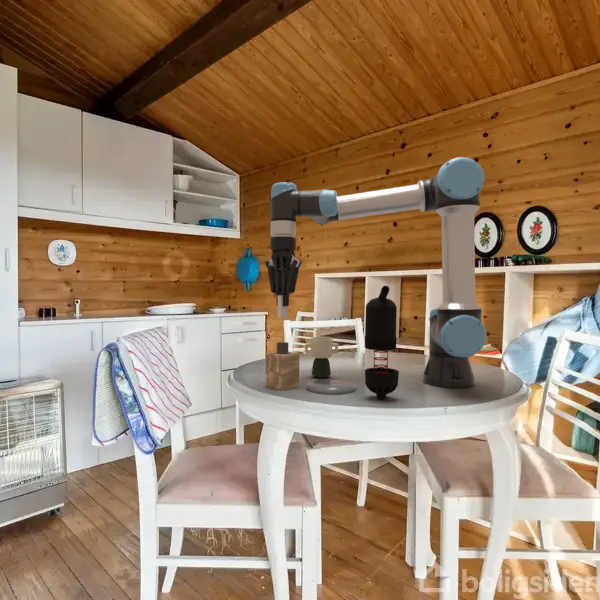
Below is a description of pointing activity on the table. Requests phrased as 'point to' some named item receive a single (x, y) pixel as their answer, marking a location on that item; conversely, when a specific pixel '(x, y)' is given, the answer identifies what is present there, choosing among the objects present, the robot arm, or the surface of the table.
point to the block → (282, 370)
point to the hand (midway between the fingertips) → (282, 317)
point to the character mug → (321, 355)
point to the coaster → (331, 387)
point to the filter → (381, 343)
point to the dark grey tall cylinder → (282, 348)
